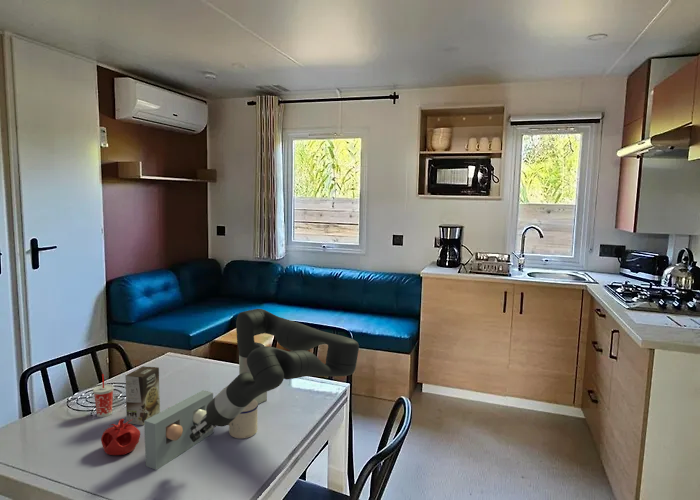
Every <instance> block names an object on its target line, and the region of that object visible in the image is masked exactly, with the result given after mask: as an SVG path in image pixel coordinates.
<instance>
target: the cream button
mask: <svg viewBox="0 0 700 500" xmlns="http://www.w3.org/2000/svg"><path fill="white" fill-rule="evenodd" d="M205 414H206V411H205V410H202V409H197V410H195V411H193V422H194V423H197V424H198V423H199V422H200V421H201V420H202V417H203V416H204V415H205Z"/></svg>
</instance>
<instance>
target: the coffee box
mask: <svg viewBox="0 0 700 500" xmlns="http://www.w3.org/2000/svg"><path fill="white" fill-rule="evenodd" d="M160 397H161V396H160V368H159V367H158V366H157V367H156V366H144V365H143V366H141V367H139V368H137V369H135V370H134V371H132V372H129V373H128V374H126V375H125V406H126V407H125V411H126V413H125V414H126V423H127V422H128V421H129V420H132V419H133V420H132V421H129V422H128V423H127V424H131V425H138V426H139V425H140V426H144V421H145V420H147V419H148V418H150V417H152V416H154V415H156V414H158V413H160V412H161V404H160V402H161V401H160Z"/></svg>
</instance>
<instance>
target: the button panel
mask: <svg viewBox="0 0 700 500" xmlns="http://www.w3.org/2000/svg"><path fill="white" fill-rule="evenodd" d="M212 399H214V393H213V392H212V391H207V390H204V389H203V390H200V391H199V392H197V393H194V394H193V395H191V396H189V397H187V398H185V399H183V400H181V401H179V402H178V403H175V404H174V405H171V406H170V407H168V408H166V409H165V410H162V411H160V413H158V414H156V415H154V416H152V417H150V418H148V419H147V420H145V421H144V425H143V426H144V450H145V451H144V452H145V453H144V455H145V458H144V459H145V467H147V468H150V469H153V470H155V471H157V470H159V469H160V468H162V467H164V466H165V465H166V464H168V463H169V462H171V461H173V460H174V459H176V458H177V457H178V456H180V455H182V454H183V453H185V452H186V451H188V450H189V449H191V448H192V447H194V446H195V445H197V444H199V443H200V442H202V441H203V440H205V439H206V438H208V437H209V436H211V435H212V434H214V432H215V430H214V429H215V428H214V429H212V430H210V431H209V432H207V433H206V434H203V435H202V436H201V437H200V438H199V439H198V440H197V441H195V442H193V441H192V440H191V438H190V434H191V433H192V431H191V429H190V428H191V427H192V426H194V425H197V426H198V424H197V423H194V422H193V411H195V410H197V409H202V410H205V411H206V408H207V405H208V404H209V402H210V401H211V400H212ZM172 423H174V424H177V425H180V426H182V428H183V432H182V435H181V437H180V438H179V439H178V440H176V441H174V440H171V439H168V438H166V427H167V426H169V425H170V424H172Z"/></svg>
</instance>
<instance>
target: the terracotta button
mask: <svg viewBox="0 0 700 500" xmlns="http://www.w3.org/2000/svg"><path fill="white" fill-rule="evenodd" d="M182 432H183V428H182V426H180V425H177V424H174V423H172V424H170V425H169V426H167V427H166V438H168V439H171V440H174V441H176V440H178V439H179V438H180V437H181V435H182Z"/></svg>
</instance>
